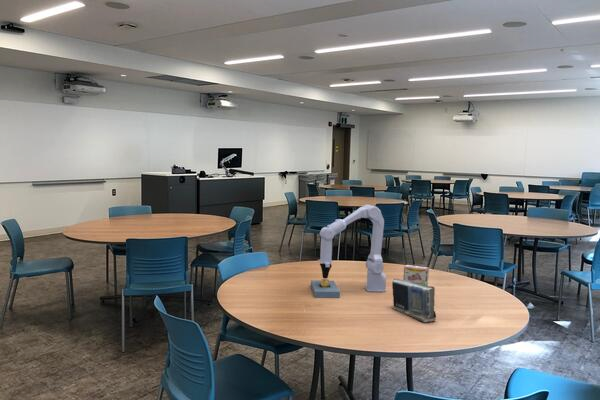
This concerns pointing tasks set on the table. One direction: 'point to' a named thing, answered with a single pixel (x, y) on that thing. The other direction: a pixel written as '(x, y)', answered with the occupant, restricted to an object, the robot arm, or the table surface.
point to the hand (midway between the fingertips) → (325, 278)
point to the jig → (325, 290)
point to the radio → (414, 300)
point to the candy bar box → (416, 274)
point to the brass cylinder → (324, 283)
